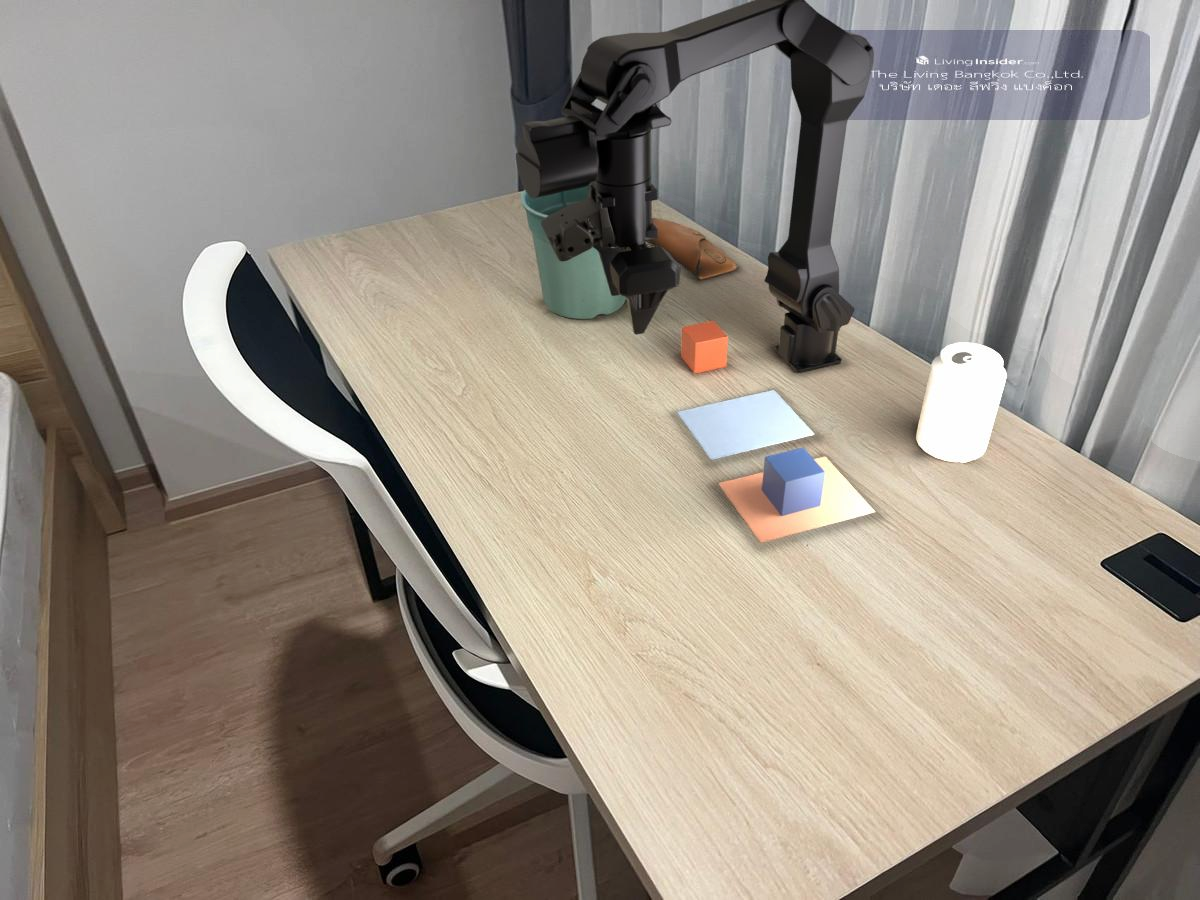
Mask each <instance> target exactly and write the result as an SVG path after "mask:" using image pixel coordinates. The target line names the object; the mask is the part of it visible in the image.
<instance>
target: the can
mask: <svg viewBox="0 0 1200 900" xmlns="http://www.w3.org/2000/svg"><path fill="white" fill-rule="evenodd" d="M1006 380H1007V371H1006V369H1005V368H1004V359H1003V357H1002V356H1001V354H1000V353H999V352H997V351H995V349H993V348H991V347H988V346H986V345H983V344H979V343H975V342H955V343H951V344H948V345H946V346H944V347H943V348H942V349H941V350H940V353H939V355H937V356H935V358H934V359H933V360H932V361H931V364H930V370H929V373H928V379H927V383H926V387H925V391H924V396H923V401H922V404H921V405H922V406H921V410H920V414H919V419H918V424H917V428H916V434H915V440H916V443H917V444H918V447H920V448H921V449H922V450H923V452H925V453H926V454H928V455H929V456H932V457H934V458H936V459H939V460H941V461H944V462H949V463H950V462H951V463H961V464H964V463H968V462H971V461H974V460H977V459H979V458H980V457H982V456H984V454H985V452H986V451H987V448H988V445H989V441H990V438H991V434H992V431H993V426H994V423H995V419H996V416H997V413H998V409H999V405H1000V402H1001V399H1002V395H1003V391H1004V388H1005V384H1006Z"/></svg>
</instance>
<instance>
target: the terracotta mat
mask: <svg viewBox="0 0 1200 900" xmlns="http://www.w3.org/2000/svg"><path fill="white" fill-rule="evenodd" d="M813 459H814V460H815V461H816V462H817V463H818V464H819V465H820V467H821V468H822V469H823V470H824V471H825V478H824V485H823V491H822V498H821V505H820V506H818V507H814V508H810V509H806V510H803V511H799V512H795V513H791V514H788V515H784V516H781V515H780V513H779V512H778V511H777V509H776V508H775V507H774V506H773V504H772V503H771V502H770V500H769V499H768V498H767V496H766V495H765V494H764V492H763V491H762V481H763V471H762V472H757V473H753V474H749V475H744V476H742V477H741V476H740V477H737V478H734V479H729V480H724V481H720V482H718V483H717V484H718V485H719V487H720V488H721V489H722V491H723V493H724V494H725V495H726V497H727V498H728V499H729V501H730V503H731V504H732V505H733V506H734V508H735V509H736V511H737V512H738V513H739V515H740V517H741V518H742V519H743V520H744V522H745V524H746V525H747V526H748V527H749V529H750V530H751V532H752V534H753V535H754V536H755V537H756V539H757V540H758V542H759V543H760V544H763V543H765V542H769V541H773V540H778V539H781V538H784V537H787V536H792V535H796V534H800V533H803V532H807V531H810V530H814V529H818V528H821V527H825V526H829V525H832V524H836V523H839V522H844V521H847V520H851V519H856V518H858V517H863V516H866V515H869V514H872V513H876V511H875V509H874V508H872V506H871V505H870V504H869V503H868V502H867V501H866V500H865V498H864V497H862V495H861V494H860V493H859V492H858V491H857V489H855V487H853V485H852V484H851V483H850V482H849V481H848V479H847V478H846V477H845V476H844V475H843V474H842V473H841V472H840V471H839V469H838V468H837V467H836V466H835V465H834V464H833V463H832V462H831V460H830V459H829V458H828V457H827V456H825V455H824V456H821V457H816V458H813Z"/></svg>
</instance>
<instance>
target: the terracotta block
mask: <svg viewBox="0 0 1200 900" xmlns="http://www.w3.org/2000/svg"><path fill="white" fill-rule="evenodd" d="M680 337H681V339H680V340H681V341H680V357H681V359H682V360H683V361H684V363H685V364H686V365H687V366H688V367H689V369H690V370H691V371H692V372H693V373H694V374H700V373H705V372H708V371H712V370H713V371H714V370H719V369H723V368H727V362H728V361H727V360H728V345H729V336H728V335H727V334H726V333H725V332H724V330H723V329H722V328H721V327H720V326H719V325H718V324H717V323H716V322H715V321H714V320H709V321H704V322H700V323H695V324H690V325H685V326H681V336H680Z"/></svg>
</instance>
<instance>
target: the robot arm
mask: <svg viewBox="0 0 1200 900" xmlns="http://www.w3.org/2000/svg"><path fill="white" fill-rule="evenodd" d="M773 46H774V47H775V49H777V51H779V52H780V53H782V54H783V55H784V56H785V57H786V58H787V59H789V60H790V80H791V81H790V86H791V91H792V93H793V96H794V99H795V102H796V106H797V108H798V111H799V113H800V126H799V135H798V144H797V152H796V153H797V154H796V163H795V170H794V171H795V172H794V180H793V181H794V182H793V191H792V192H793V193H792V199H791V200H792V201H791V208H790V209H791V210H790V217H789V218H790V219H789V228H788V235H787V239H786V241H785V242H784V244H783V245H781V247H780V249H778V251H771V252H769V253H768V256H767V268H768V269H767V272H766V276H765V278H764V282H765V283H766V284H767V285H768V290H769V293H770V294H771V295H772V296H773V297H774V298H775V299H776V303H777V306H779V307H780V308H783V309H784V310H786V311H787V312H784V317H783V318H784V319H783V324H782V325H781V326H780V329H779V339H778V344H777V345H775V346H774V351H775V352H776V353H777V354H778V355H779V356H780V357H781V358H782V359H783V360H784V361H785V362H786V363H787V364H788V365H789V366H790V367H791V368H792V370H794V371H795V372H796V373H799V374H800V373H804V372H810V371H814V370H819V369H822V368H827V367H832V366H836V365H840V364H842V358H841V357H840V355H838V354H837V353H836V351H837V345H838V337H839V332H840V330H841V328H842V327H843V326H846V325H849V324H850V322H851V319H852V317H853V314H854V312H855V307H854V306H852V304H850V303H849V301H848V300H846V299H845V298H844V297H843V296H842V295H841V294H840V267H839V264H838V261H837V259H836V258H837V257H836V256H835V255H836V254H835V253H834V250H833V247H832V244H831V243H832V241H831V240H832V234H833V226H834V219H835V211H836V205H837V204H836V203H837V197H838V190H839V183H840V175H841V169H842V160H843V154H844V149H845V148H844V147H845V140H846V132H847V125H848V120H849V118H850V117H851V116H852V114H853V113H854V112H855V110H856V109H857V107H858V106H859V105H860V103H861V102H862V101H863V99H864V98H865V95H866V93H867V89H868V85H869V81H870V77H871V74H872V71H873V66H874V62H875V61H874V60H875V58H874V57H875V52H874V47H873V46H872V45H871V44H870V42H869V41H868V39H867V38H865V37H864V36H863V35H860V34H857V33H853V32H850V31H846V30H844V28H841V27H840V26H839V25H837V24H836V23H834V22H833V21H832V20H830V19H828V18H827V17H826V16H824V15H822V14H821V13H820V12H818V11H817V10H816V9H815V8H814V7H813V6H811V5H810V4H809V3H808V2H807V1H806V0H751V1H748V2H745V3H742V4H740V5H736V6H734V7H731V8H729V9H726V10H722V11H720V12H717V13H714V14H711V15H709V16H705V17H703V18H700V19H698V20H694V21H692V22H689V23H686V24H684V25H680V26H678V27H675V28H673V29H670V30H665V31H659V32H629V33H621V34H613V35H606V36H603V37H599V38H598V39H596V40H594V41H592V42H591V44H589V45H588V47H587V51H586V52H585V55H584V57H583V58H582V62H581V67H580V72H579V74H578V76H577V78H576V79H575V82H574V84H573V85H572V88H571V89H570V91H569V93H568V94H567V97H566V99H565V100H564V103H563V104H562V107H561V108H560V113H561V114H562V115H563V116H562V117H558V118H554V119H548V120H542V121H541V120H539V121H538V120H532V121H528V122H527V121H526V122H524V123H523V124H522V126H521V127H522V136H521V137H520V138H519V140H518V144H517V152H515V161H516V167H517V168H516V169H517V172H518V176H519V180H520V182H521V184H522V187H523V190H525V191H526V192H527V194H528V195H529V196H530V197H531V198H534V199H535V198H539V197H544V196H548V195H552V194H556V193H561V192H565V191H569V190H574V189H578V188H582V187H586V186H588V185H589V184H590V185H589V186H588V198H586V199H584V200H582V201H579V202H576V203H573V204H571V205H569V206H567V207H565V208H563V209H561V210H559V211H557V212H555V213H553V214H551V215H549V216H547V217H546V218H544V219H543V220H542V221H541V226H542V228H543V230H544V232H545V234H546V236H547V238H548V240H549V242H550V244H551V246H552V248H553V250H554V252H555V254H556V256H557V258H558V260H559V261H562V262H564V261H568V260H570V259H572V258H574V257H576V256H578V255H580V254H582V253H584V252H586V251H588V250H590V249H591V248H592V247H594V248H595V249H596V250H597V251H598V253H599V256H600V259H601V262H602V266H603V269H604V273H605V276H606V280H607V283H608V286H609V290H610V293H611V295H612V296H617V295H621V296H625V297H626V300H625V301H626V304H627V309H628V315H629V320H630V324H631V327H632V332H633V334H634V335H641V334H645V332H646V330H647V328H648V327H649V324H650V323H651V321H652V319H653V317H654V315H655V313H656V311H657V309H658V308H659V307H660V304H661V302H662V301H663V299H664V298H665V296H666V295H667V293H668V291H669V290H672V289H674V288H677V287H678V286H679V285H680V282H681V281H680V279H681V278H680V277H681V276H680V275H681V266H680V265H679V263H678V262H677V261H676V260H674V259H673V257H672V256H671V255H670V253H669V252H667V251H666V250H665V249H664V248H662V247H661V246H651V247H649V246H648V244H646V243H647V242H646V241H647V240H649V239H656V238H658V229H657V228H656V226H655V225H654V224H653V223H652V218H653V207H652V206H653V204H652V203H653V201H658V189H657V188H656V187H655V186H654V184H653V183H652V130H655V129H660V128H664V127H669V126H671V124H672V122H673V121H672V118H671V117H670V116H668V115H666V114H665V113H664V112H663V111H662V110H661V109H660V108H659V106H658V104H657V103H659V102H661V101H663V100H664V99H666V98H668V97H669V96H670V95H671V94H672V93H673V92H674V91H675V89H676V88H677V87H678V85H680V83H682V82H683V81H685V80H687V79H688V78H691V77H692V76H695V75H698V74H700V73H704V72H706V71H709V70H711V69H714V68H717V67H720V66H723V65H725V64H727V63H730V62H732V61H735V60H737V59H740V58H743V57H746V56H748V55H751V54H754V53H757V52H759V51H763V50H765V49H767V48H770V47H773ZM596 100H598V101H600V102H602V103H603V104H606V105H605V107H604V109H601V108H599V107H597V106H596V105H594V104H593V103H594V102H595V101H596Z"/></svg>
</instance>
